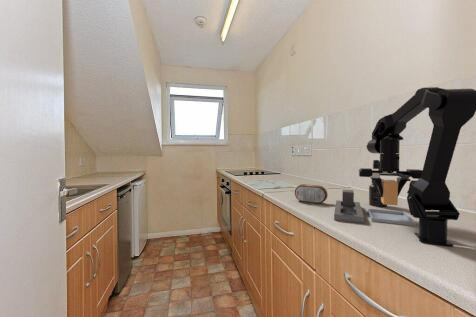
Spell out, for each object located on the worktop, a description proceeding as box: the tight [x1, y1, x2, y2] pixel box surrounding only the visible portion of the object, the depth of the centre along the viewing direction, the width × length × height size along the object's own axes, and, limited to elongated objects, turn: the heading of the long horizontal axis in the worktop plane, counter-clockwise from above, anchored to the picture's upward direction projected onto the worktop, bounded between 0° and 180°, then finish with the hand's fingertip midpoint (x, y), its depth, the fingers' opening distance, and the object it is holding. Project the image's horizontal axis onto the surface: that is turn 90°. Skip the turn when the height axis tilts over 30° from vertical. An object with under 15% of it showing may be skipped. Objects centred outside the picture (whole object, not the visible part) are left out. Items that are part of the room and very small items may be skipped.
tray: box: [367, 207, 417, 227], centre depth 78 cm, size 14×12×2 cm
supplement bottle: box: [368, 178, 388, 208], centre depth 96 cm, size 7×7×12 cm
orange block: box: [381, 179, 399, 206], centre depth 78 cm, size 6×4×8 cm, turn 154°
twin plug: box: [342, 189, 355, 207], centre depth 90 cm, size 6×4×8 cm, turn 154°
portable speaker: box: [294, 183, 328, 205], centre depth 105 cm, size 15×3×8 cm, turn 58°
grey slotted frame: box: [333, 199, 365, 224], centre depth 85 cm, size 24×9×2 cm, turn 154°
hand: (388, 197), depth 78 cm, fingers closed on orange block, 4 cm apart
